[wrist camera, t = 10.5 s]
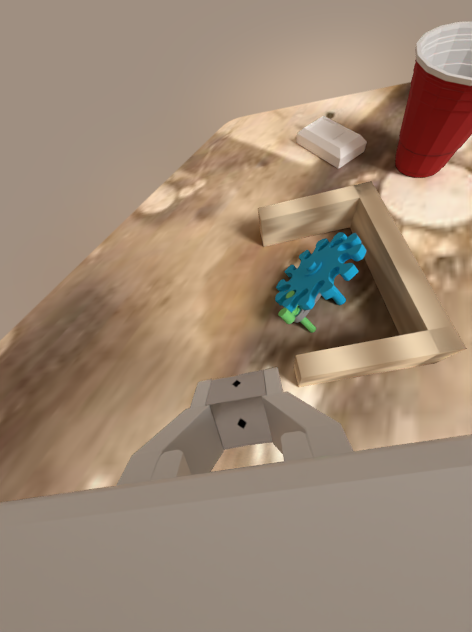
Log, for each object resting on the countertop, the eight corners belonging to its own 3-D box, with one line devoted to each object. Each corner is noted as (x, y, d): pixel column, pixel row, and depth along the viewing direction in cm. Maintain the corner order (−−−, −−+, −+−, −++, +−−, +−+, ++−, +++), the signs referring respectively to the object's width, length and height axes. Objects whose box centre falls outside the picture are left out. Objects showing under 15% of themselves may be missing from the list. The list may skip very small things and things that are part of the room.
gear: (308, 233, 31) (381, 218, 22) (336, 267, 33) (412, 266, 24) (252, 304, 30) (302, 320, 21) (284, 334, 32) (343, 360, 23)
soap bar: (337, 171, 37) (341, 153, 35) (296, 145, 41) (297, 127, 39) (363, 154, 38) (368, 135, 36) (320, 130, 42) (322, 111, 39)
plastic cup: (462, 198, 31) (555, 75, 21) (368, 185, 35) (407, 73, 24) (470, 142, 35) (553, 12, 24) (384, 135, 38) (424, 18, 28)
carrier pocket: (298, 387, 25) (301, 377, 21) (260, 235, 34) (257, 208, 30) (436, 362, 24) (466, 348, 20) (360, 212, 33) (371, 181, 29)
